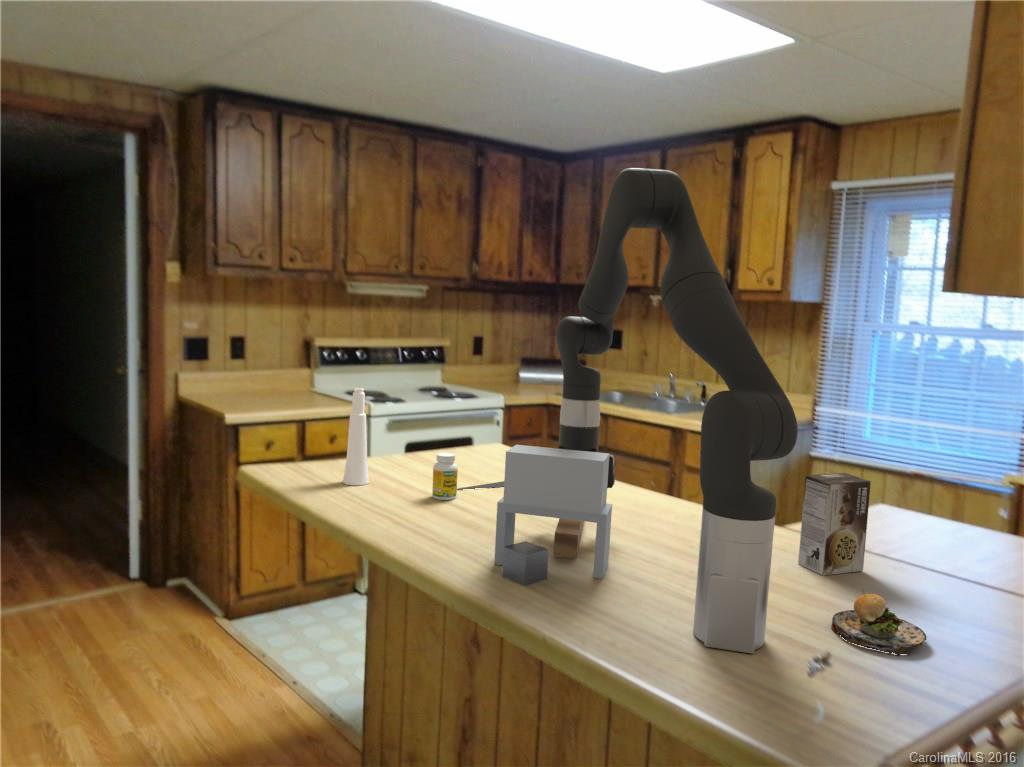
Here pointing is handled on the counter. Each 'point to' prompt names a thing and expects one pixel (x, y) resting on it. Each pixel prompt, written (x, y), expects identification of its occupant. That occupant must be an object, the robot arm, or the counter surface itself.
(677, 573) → the counter surface
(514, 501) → the cabinet
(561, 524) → the bar
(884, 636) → the burger
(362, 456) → the cosmetic bottle
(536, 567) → the cube
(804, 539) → the coffee box
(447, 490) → the supplement bottle
